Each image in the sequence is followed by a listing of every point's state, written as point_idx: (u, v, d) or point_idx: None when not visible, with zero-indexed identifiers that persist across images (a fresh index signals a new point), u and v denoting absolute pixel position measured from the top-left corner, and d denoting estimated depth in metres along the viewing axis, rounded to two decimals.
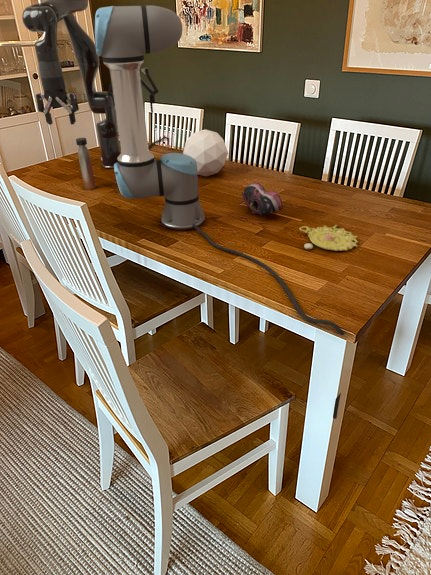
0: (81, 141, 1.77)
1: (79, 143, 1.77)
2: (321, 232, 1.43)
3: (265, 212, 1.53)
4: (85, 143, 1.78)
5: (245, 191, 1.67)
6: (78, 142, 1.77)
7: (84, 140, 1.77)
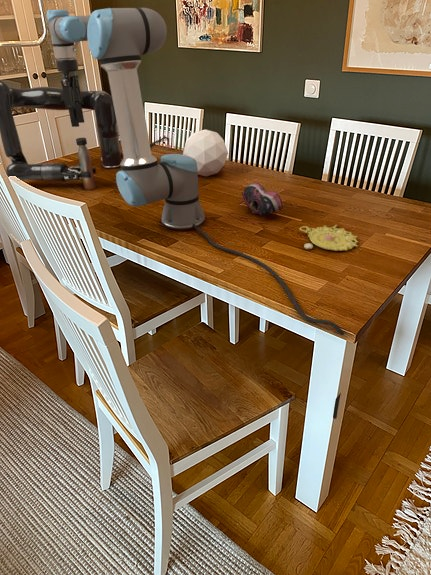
0: (81, 141, 1.77)
1: (79, 143, 1.77)
2: (321, 232, 1.43)
3: (265, 212, 1.53)
4: (85, 143, 1.78)
5: (245, 191, 1.67)
6: (78, 142, 1.77)
7: (84, 140, 1.77)
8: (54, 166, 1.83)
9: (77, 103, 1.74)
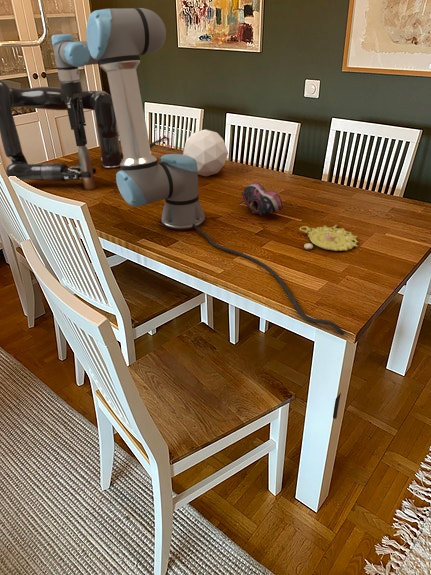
0: None
1: None
2: (321, 232, 1.43)
3: (265, 212, 1.53)
4: (85, 143, 1.78)
5: (245, 191, 1.67)
6: None
7: (84, 140, 1.77)
8: (54, 166, 1.83)
9: (80, 124, 1.77)
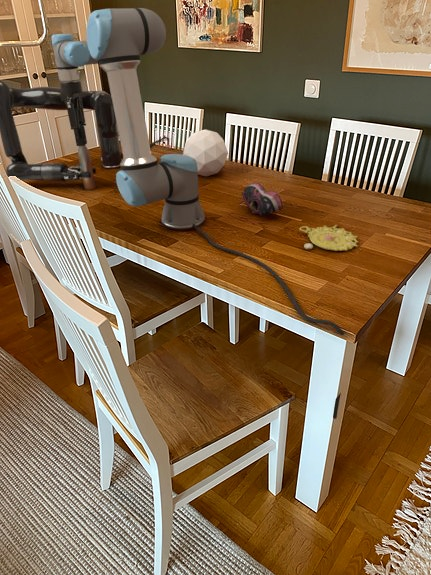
0: None
1: (85, 142, 1.78)
2: (321, 232, 1.43)
3: (265, 212, 1.53)
4: None
5: (245, 191, 1.67)
6: (84, 141, 1.77)
7: None
8: (54, 166, 1.83)
9: (80, 124, 1.77)
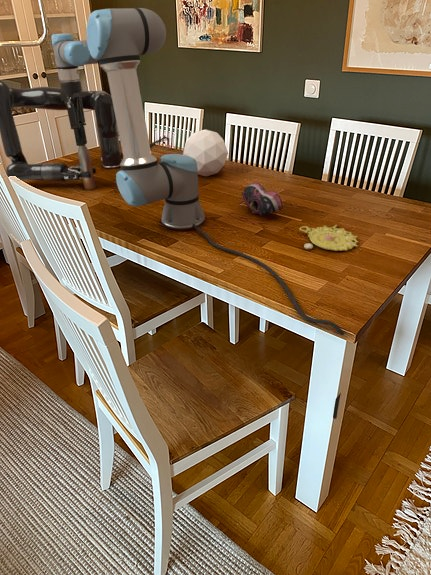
0: None
1: None
2: (321, 232, 1.43)
3: (265, 212, 1.53)
4: None
5: (245, 191, 1.67)
6: None
7: None
8: (54, 166, 1.83)
9: (80, 124, 1.77)
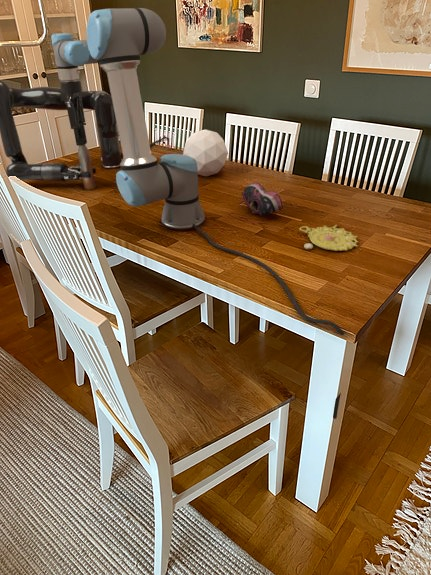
0: None
1: None
2: (321, 232, 1.43)
3: (265, 212, 1.53)
4: None
5: (245, 191, 1.67)
6: None
7: None
8: (54, 166, 1.83)
9: (80, 124, 1.77)
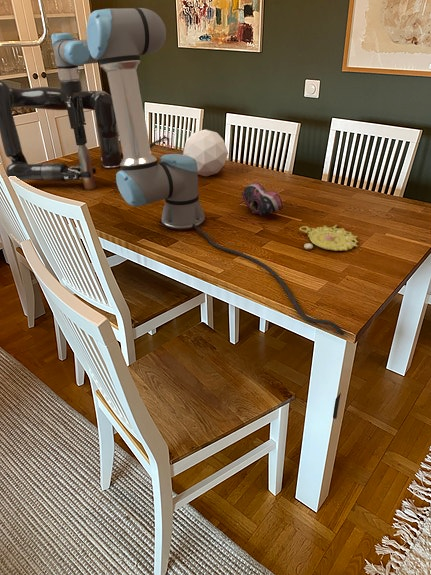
0: None
1: None
2: (321, 232, 1.43)
3: (265, 212, 1.53)
4: None
5: (245, 191, 1.67)
6: None
7: None
8: (54, 166, 1.83)
9: (80, 123, 1.77)
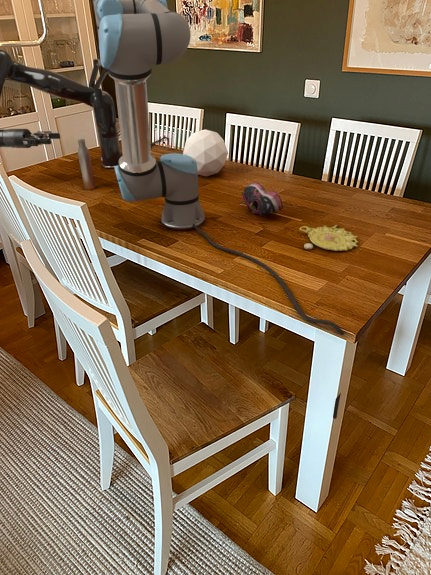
0: None
1: None
2: (321, 232, 1.43)
3: (265, 212, 1.53)
4: None
5: (245, 191, 1.67)
6: None
7: None
8: (16, 131, 1.77)
9: (97, 87, 1.62)
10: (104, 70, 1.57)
